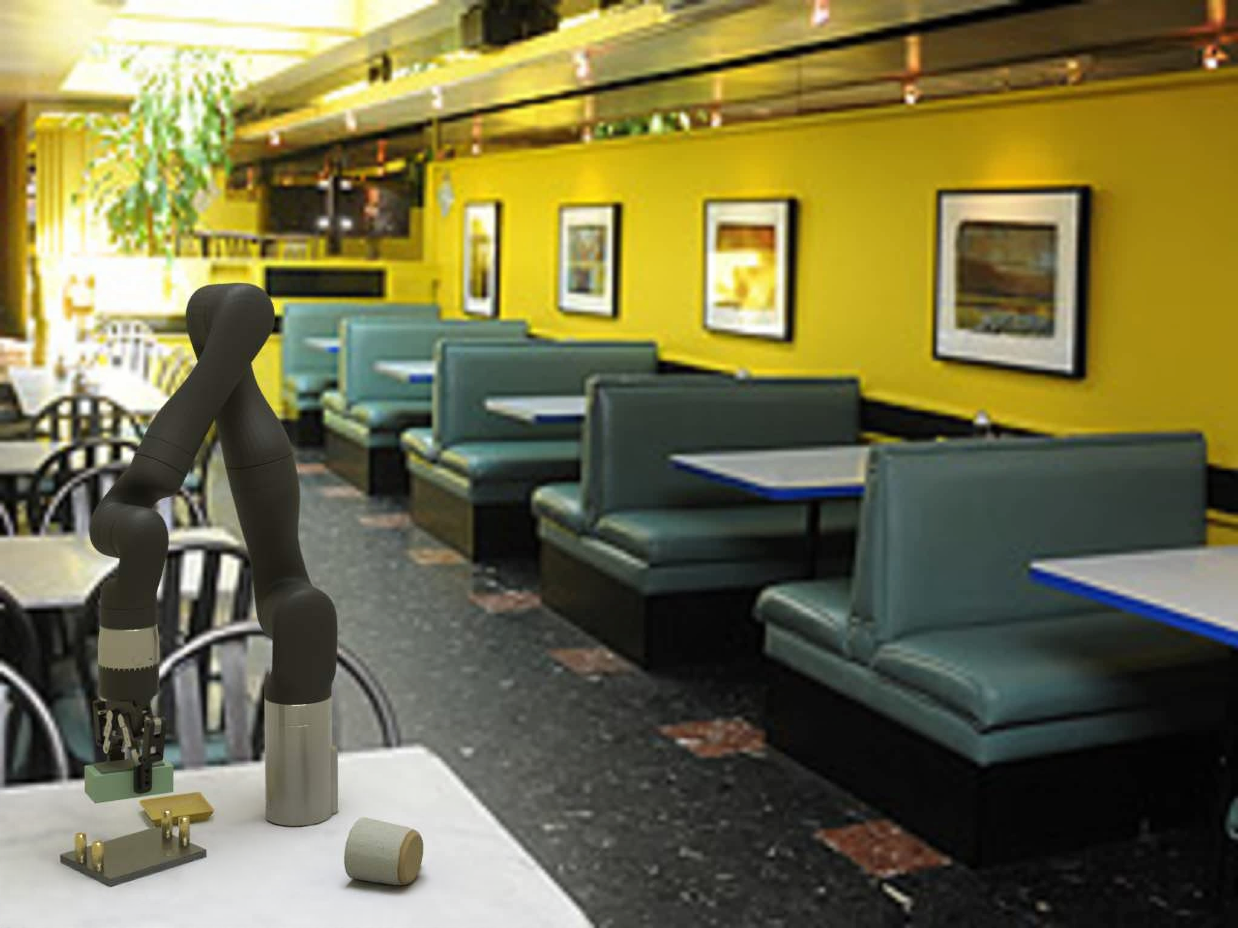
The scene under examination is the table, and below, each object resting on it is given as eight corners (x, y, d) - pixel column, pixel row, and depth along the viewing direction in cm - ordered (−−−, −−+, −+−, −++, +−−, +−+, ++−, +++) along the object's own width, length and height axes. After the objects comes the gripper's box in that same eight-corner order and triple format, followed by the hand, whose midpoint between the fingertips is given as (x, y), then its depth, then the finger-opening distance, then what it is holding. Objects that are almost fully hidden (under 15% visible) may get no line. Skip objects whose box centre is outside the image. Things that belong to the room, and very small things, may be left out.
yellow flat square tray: (215, 824, 224) (215, 809, 224) (152, 833, 220) (151, 818, 220) (200, 805, 232) (199, 791, 231) (138, 813, 227) (138, 799, 227)
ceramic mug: (402, 895, 199) (403, 835, 198) (342, 886, 201) (342, 827, 201) (436, 866, 209) (437, 809, 208) (378, 858, 212) (379, 802, 211)
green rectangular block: (161, 781, 213) (161, 753, 213) (173, 791, 209) (173, 763, 208) (84, 791, 208) (84, 763, 207) (95, 803, 204) (94, 774, 203)
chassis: (155, 833, 219) (154, 801, 218) (206, 856, 211) (206, 823, 210) (60, 861, 208) (59, 827, 208) (110, 886, 200) (109, 851, 200)
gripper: (186, 664, 204) (185, 793, 206) (124, 644, 214) (125, 767, 216) (133, 674, 199) (133, 806, 201) (72, 653, 208) (73, 779, 210)
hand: (129, 785), depth 208 cm, fingers closed on green rectangular block, 5 cm apart
